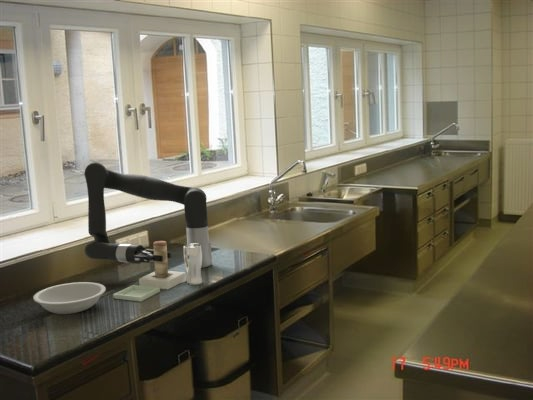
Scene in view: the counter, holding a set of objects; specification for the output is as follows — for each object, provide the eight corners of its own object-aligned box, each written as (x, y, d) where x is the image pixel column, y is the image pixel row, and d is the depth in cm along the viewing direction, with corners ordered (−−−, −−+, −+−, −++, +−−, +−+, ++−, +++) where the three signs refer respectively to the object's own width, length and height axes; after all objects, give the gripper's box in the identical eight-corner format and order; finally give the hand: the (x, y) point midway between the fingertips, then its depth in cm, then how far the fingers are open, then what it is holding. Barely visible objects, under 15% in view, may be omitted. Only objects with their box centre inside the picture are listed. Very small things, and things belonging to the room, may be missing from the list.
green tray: (133, 289, 239) (133, 284, 239) (160, 292, 234) (159, 287, 234) (113, 299, 228) (113, 294, 228) (140, 302, 223) (140, 297, 223)
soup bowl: (37, 327, 203) (35, 308, 202) (33, 306, 225) (31, 288, 223) (112, 314, 212) (111, 295, 211) (101, 295, 234) (99, 278, 233)
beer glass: (189, 286, 240) (186, 248, 238) (183, 282, 246) (180, 244, 244) (206, 283, 243) (203, 245, 241) (199, 279, 249) (197, 242, 247)
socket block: (158, 278, 253) (158, 269, 253) (186, 280, 248) (185, 272, 247) (139, 287, 242) (138, 278, 241) (168, 290, 236) (167, 281, 236)
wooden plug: (164, 274, 248) (162, 240, 245) (170, 277, 244) (168, 242, 241) (153, 277, 245) (151, 242, 242) (158, 280, 241) (156, 244, 238)
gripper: (118, 248, 242) (155, 251, 235) (140, 240, 255) (176, 243, 247) (119, 267, 243) (156, 271, 236) (141, 258, 256) (177, 261, 249)
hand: (166, 256), depth 242 cm, fingers closed on wooden plug, 5 cm apart
